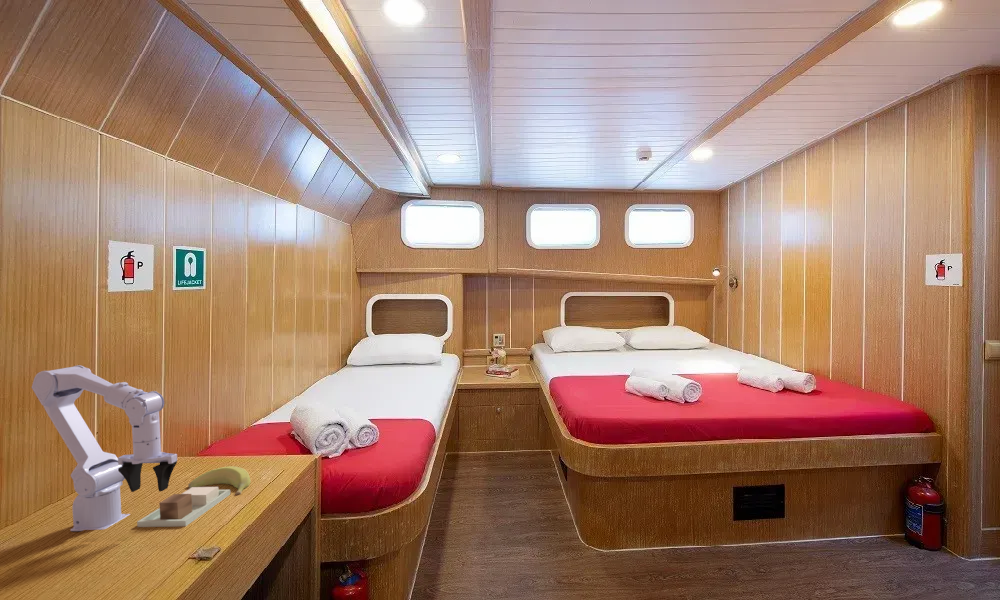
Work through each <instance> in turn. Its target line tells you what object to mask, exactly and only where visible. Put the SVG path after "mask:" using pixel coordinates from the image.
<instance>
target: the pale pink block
mask: <svg viewBox="0 0 1000 600" xmlns="http://www.w3.org/2000/svg"><path fill="white" fill-rule="evenodd" d="M219 490H220V489H219V486H200V487H192V488H188V489H187V490H185V491H184V492H181V494H191V496H192V506H193V505H206V504H208V503H209V502H210V501H212V500H213V499H215V498H216V497H218V496H219Z"/></svg>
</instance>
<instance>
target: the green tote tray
mask: <svg viewBox="0 0 1000 600" xmlns="http://www.w3.org/2000/svg"><path fill="white" fill-rule="evenodd" d="M218 490H219V496H218V497H216V498H215V499H213V500H212V501H210V502H209V503H208V504H206V505H193V506H192V512H191V513H190V514H188V515H187V516H185V517H184V518H182V519H172V520H160V507H159V508H157V509H156V510H154V511H151V512H150V513H149V514H147V515H146V516H144V517H142V518H141V519H139V520H137V522H136V523H137V524H136V525H137V526H136V527H137V528H157V527H163V528H164V527H165V528H167V527H169V528H170V527H171V528H172V527H175V528H176V527H188V526H189V525H190V524H191V523H193V522H194V521H195V520H197V519H198V518H200V517H202V515H204V514H205V513H207V512H208V511H209V510H211V509H212V508H213V507H215V506H216V505H218V504H219V503H220V502H222V501H223V500H224V499H226V498H228V497H229V496H230V495H231V489H218Z"/></svg>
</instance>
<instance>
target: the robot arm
mask: <svg viewBox="0 0 1000 600" xmlns="http://www.w3.org/2000/svg"><path fill="white" fill-rule="evenodd" d="M31 385H32V386H31V389H32V390H33V393H34V394H35V396H36V397H37V399H38V401H39V402H40V404H41V406H43V409H44V410H45V412H46V414H47V416H48V417H49V419H50V421H51V422H52V423H53V426H54V427H55V429H56V430H57V433H58V434H59V435H60V437H61V438H62V440H63V442H64V444H65V445H66V447H67V449H68V450H69V452H70V453H71V455H72V457H73V459H74V460H75V462H76V464H77V465H76V466H75V467H74V469H73V470H72V472H71V474H70V477H71V480H72V481H73V487H74V491H75V492H76V493H77V496H76V497H75V498H74V500H73V503H72V521H73V523H72V524H73V527H72V528H70V532H83V531H84V530H85V531H88V530H89V531H90V530H91V531H92V530H94V531H97V530H98V531H99V530H102V531H103V530H106V529H108V528H110V527H111V526H113V525H114V524H117V523H119V522H120V521H121V520H123V519H125V518H126V517H128V516H130V515H131V513H122V502H121V501H122V500H121V486H123V481H126V483H127V484H128V485H127V486H128V488H129V490H130V492H131V493H134V492H136V491H138V490H140V489H141V485H142V483H141V479H142V478H141V473H142V469H143V464H157V465H155V466H153V467H152V470H153V471H154V474H155V477H156V480H157V489H158V492H163V491H165V490H167V489H168V487H169V482H170V479H171V475H172V473H173V470H174V469H175V467H176V465H177V464H178V454H177V453H171V452H170V453H169V452H164V451H162V443H161V440H162V439H161V425H160V424H161V423H160V422H161V421H160V412H161V411H162V410H163V408H164V406H165V398H164V397H163V395H162V393H159V392H158V391H157V390H152V391H148V392H147V391H144V390H143V389H141V388H139V389H138V388H136V387H133V386H131V385H129V383H128V382H126V381H123V382H116V383H112V382H111V381H110V382H109V381H108V380H106V379H104V378H102V377H100V376H98V375H96V374H94V373H93V372H92V370H91V369H90V368H88V367H85V366H83V365H80V364H79V365H78V364H77V365H74V366H70V367H63V368H57V369H51V370H42V371H40V372H37V373H36V374H35V376H34V378H33V382H32V384H31ZM84 390H85V391H87V392H90V393H93V394H97V395H99V396H103V400H104V402H105V403H107V404H109V405H110V406H114V407H116V408H119V409H122V410H124V412H125V413H124V414H125V415H126V416H127V417H128V423H129V424H130V426H131V430H132V431H131V434H132V450H133V451H132V453H131V454H123V455H121V456H119V457H117V455H116V454H115V453H111V452H106V451H103V449H102V448H101V446H100V444H99V443H98V440H97V439H96V438H95V436H94V435H93V433H92V431H91V429H90V428H89V426H88V424H87V423H86V420H84V418H83V416H82V414H81V413H80V412H79V410H78V408H77V406H76V405H75V401H76V400H77V399H78V398H80V397H81V395H82V394H83V392H84Z"/></svg>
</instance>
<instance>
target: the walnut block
mask: <svg viewBox="0 0 1000 600" xmlns="http://www.w3.org/2000/svg"><path fill="white" fill-rule="evenodd" d="M158 504H159V505H158V506H159V508H160V520H172V519H182V518H184V517H185V516H187V515H188V514H190V513H191V512H192V496H191V494H182V493H174V494H172V495H169V497H167V498H165V499H164V500H161V501H159V503H158Z"/></svg>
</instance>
